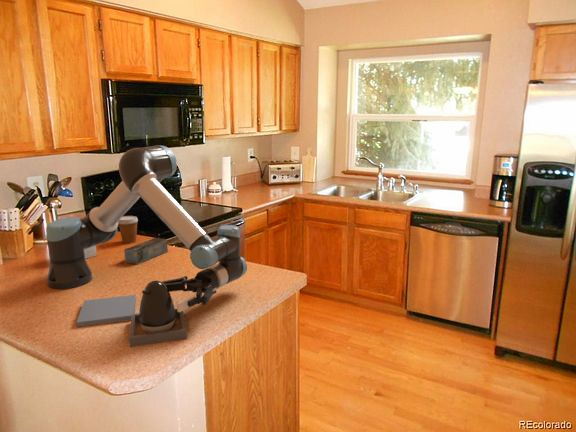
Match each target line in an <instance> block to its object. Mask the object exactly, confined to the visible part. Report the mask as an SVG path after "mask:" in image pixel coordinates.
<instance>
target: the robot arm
mask: <svg viewBox="0 0 576 432" xmlns="http://www.w3.org/2000/svg"><path fill="white" fill-rule="evenodd" d="M177 167H178V164H177V158H176V156H175V153H174V152H173V150H171V149H170V148H169V147H167V146H165V145H158V144H157V145H153V146H145V147H133V148H131V149H129V150H128V149H127V150H126V151H125V152H124V153H123V154H122V155H121V157H120V159H119V163H118V172H119V175H120V178H121V182H120V183H119V184H118V185H117V186H116V188H114V190H113V191H112V192H111V193H110V194H109V196H108V197H107V198H106V199H105V200H104V201H103V202H102V203H101V204H100V206H96V207H93V208H91V210H90V211H89V212H88V213H87V214H86V216H84V217H81V218H79V217H76V216H67V217H64V218H59V219H56V220H53V221H51V222H49V223H48V224H47V226H46V228H45V230H46V231H45V233H46V235H45V238H46V243H47V250H48V256H49V258H48V259H49V269H48V274H47V277H46V283H47V286H48V287H49V288H51V289H58V290H60V289H61V290H62V289H63V290H65V289H72V288H77V287H80V286H83V285H87V284H88V283H89V282H91V281H92V279H93V273H92V270H91V268H90V266H89V264H88V262H87V261H86V260H87V259H85V255H84V249H87V248H90V247H92V246H95V245H96V246H98V245H100V244H105V243H108V242H109V241H111V240H112V239H114V238H115V237H116V235H117V234H118V227H119V224H118V221H119V219H120V218H121V217H124V216H125V214H126V213H127V212H128V211H129V210H130V209H131V208H132V207H133V206H134V204H136V203H137V201H138V200H140V198H141V199H142V200H143V201H144V202H145V204H146V205H148V207H149V208H150V209H151V210H152V211H153V213H155V215H156V216H157V217H158V218H159V219H160V220H161V221H162V222H163V223H164V224H165V225H166V226H167V227H168V229H170V231H171V232H172V233H173V234H174V235H175V237H177V238H178V239H179V240H180V242H182V243H183V245H185V247H186V248H187V249H188V250H189V251H190V254H189V259H190V261H191V263H192V265H193V266H194V267H195V268H197V269H199V270H200V271H198V272H197V273H196V275H195V277H194V278H192V277H191V278H189V279H188V276H186V275H185V276H183V277H179V278H175V279H174V278H173V279H167V280H163V281H161V282H162V283H163V284H164V285H165V286H166V287H167V289H168V291H169V293H171V292H178V291H183V292H184V293H185V292H192V293H195V295H194V294H192V295H190V296H188V297H186V298H184V299H182V300H180V301H178V302H176V309H177V312H181V311H183V312H184V311H185V310H187V309H189V308H191V307H193V306H195V305H200V304H202V305H203V306H206V305H207V304H208V303H209V301H210V300H211V298H212V297H213V295H215V294H216V293H217V290H218V289H219V288H221V287H223V286H225V285H227V284H230V283H231V282H234V281H235V280H238V279H240V278H241V277H243V276H245V274H246V273H247V271H248V263H246V259H245V258H244V257H242V256H241V233H240V228H239V226H237V225H234V224H227V225H226V224H224V225H221V226H219V227H218V228H217V233H216V236H215V237H213V238H211V236H209V234H208V233H207V232H206V231H205V230H204V229H203V228H202V226H200V225H199V223H198V222H197V221H196V220H195V219H194V218H193V217H192V216H191V215H190V214H189V213H188V212H187V210H186V209H185V208H184V207H183V206H182V205H181V204H180V203H179V202H178V201H177V199H175V198H174V196H173V195H172V194H171V193H170V192H168V190H166V188H165V187H164V186H163V185H162V184H161V182H162V181H163V180H164V179H165V178H167V179H168V178H170V177H172V176H174V174H175V173H176V171H177Z"/></svg>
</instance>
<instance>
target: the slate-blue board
mask: <svg viewBox="0 0 576 432" xmlns="http://www.w3.org/2000/svg"><path fill="white" fill-rule="evenodd" d="M136 299H137V298H136V294H129V295H123V296H112V297H111V296H110V297H103V298H95V299H87V300H86V299H85V300H83V303H82V306H81V309H80V312H79V315H78V317H77V319H76V327H77V328H80V327H87V326H95V325H103V324H112V323H117V322H118V323H120V322H127V321H131V315H132V314H136V313H135V311H136V301H137V300H136Z"/></svg>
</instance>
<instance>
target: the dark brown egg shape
mask: <svg viewBox="0 0 576 432" xmlns="http://www.w3.org/2000/svg"><path fill="white" fill-rule="evenodd" d="M141 293H142V296H141V300H140V305H139V313H138V314H139V322H140V325H141V327H142V328H143V330H144V331H145V332H146V333H147V334H152V333H159V332H167V331H170V330H171V328H172V327H173V325H174V322H175V321H176V320H175V319H176V312H175V309H176V308H175V304H174V301H173V298H172V296H171V292H169V291H168V289H167V287H166V286H165V285H164V284H163V283H162V281H160V280H152V281H150V282H149V283H147V285H145V287H144V289H142V291H141Z"/></svg>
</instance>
